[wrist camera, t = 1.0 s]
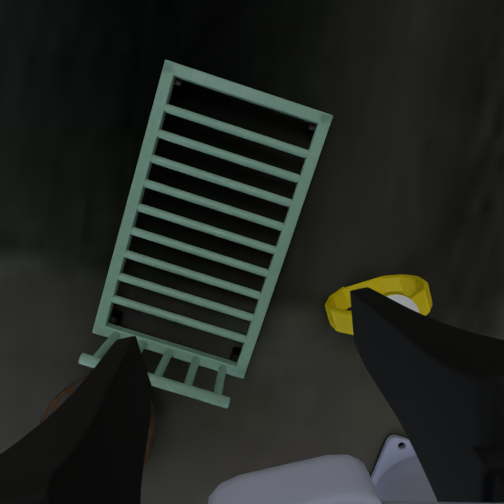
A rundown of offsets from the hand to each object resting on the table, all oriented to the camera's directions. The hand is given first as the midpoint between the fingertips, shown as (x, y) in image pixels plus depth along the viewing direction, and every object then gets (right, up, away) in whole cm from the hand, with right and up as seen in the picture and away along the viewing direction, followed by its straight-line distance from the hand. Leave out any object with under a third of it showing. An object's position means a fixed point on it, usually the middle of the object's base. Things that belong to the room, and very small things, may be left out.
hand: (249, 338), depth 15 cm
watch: (+8, 0, +15) cm, 17 cm away
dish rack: (-3, +5, +14) cm, 15 cm away
